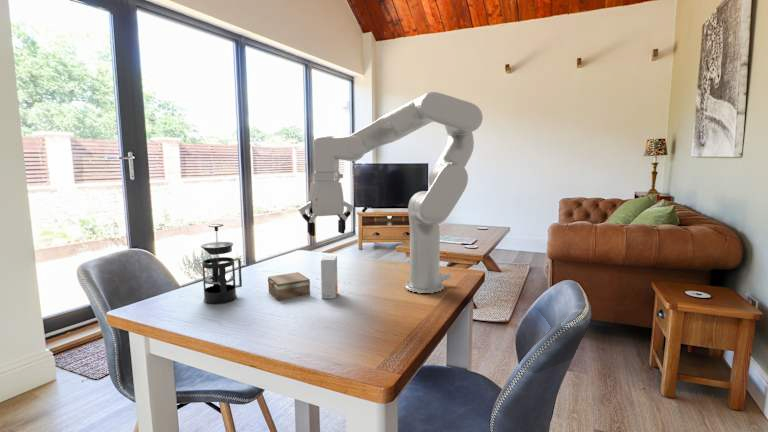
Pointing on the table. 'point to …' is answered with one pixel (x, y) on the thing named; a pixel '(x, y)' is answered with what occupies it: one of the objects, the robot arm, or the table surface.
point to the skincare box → (329, 276)
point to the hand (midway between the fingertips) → (326, 234)
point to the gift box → (289, 286)
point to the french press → (220, 272)
